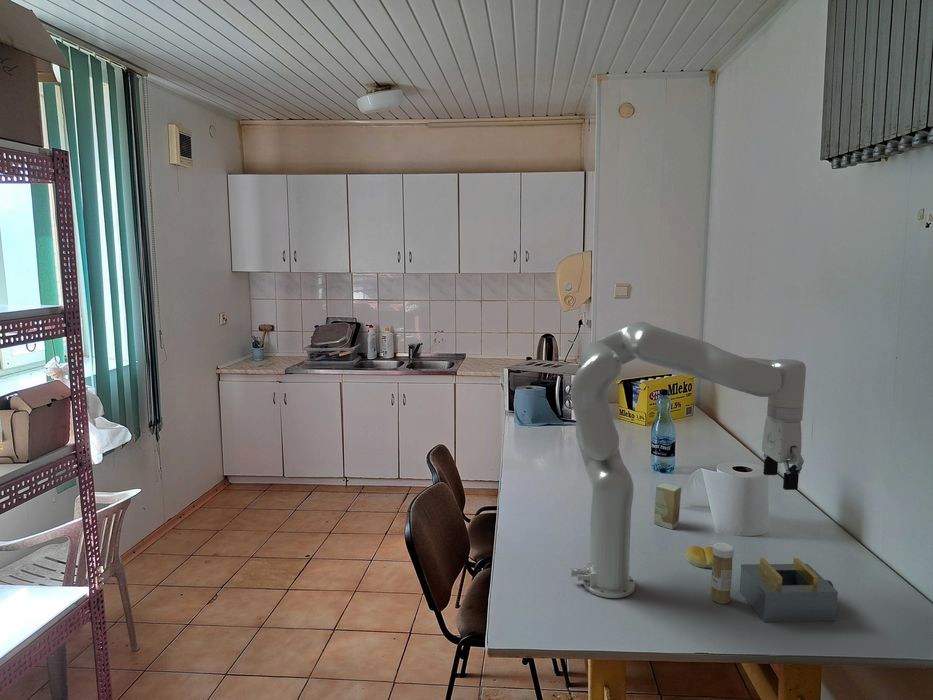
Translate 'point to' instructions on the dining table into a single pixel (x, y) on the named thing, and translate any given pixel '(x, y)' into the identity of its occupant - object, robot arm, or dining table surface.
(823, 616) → the grey holder box
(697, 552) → the bread roll
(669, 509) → the skincare box
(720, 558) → the sprinkles bottle
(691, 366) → the robot arm
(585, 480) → the dining table surface
